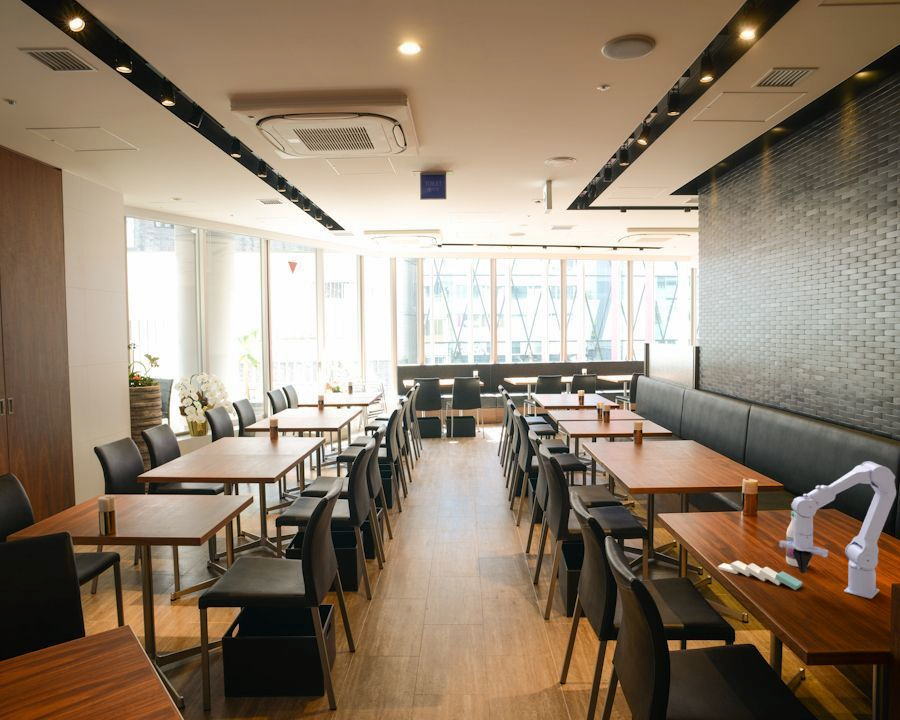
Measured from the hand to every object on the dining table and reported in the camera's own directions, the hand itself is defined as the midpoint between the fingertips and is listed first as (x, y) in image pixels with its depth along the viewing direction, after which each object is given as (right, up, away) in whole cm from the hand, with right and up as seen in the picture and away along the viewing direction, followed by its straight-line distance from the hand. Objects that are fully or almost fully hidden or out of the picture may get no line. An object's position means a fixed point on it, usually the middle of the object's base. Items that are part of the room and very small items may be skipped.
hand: (803, 572), depth 211 cm
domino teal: (-1, -5, +1) cm, 5 cm away
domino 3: (-8, -5, +9) cm, 13 cm away
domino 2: (-11, -5, +13) cm, 18 cm away
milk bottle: (+11, -5, +23) cm, 27 cm away
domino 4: (-4, -5, +5) cm, 8 cm away
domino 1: (-14, -5, +16) cm, 22 cm away
